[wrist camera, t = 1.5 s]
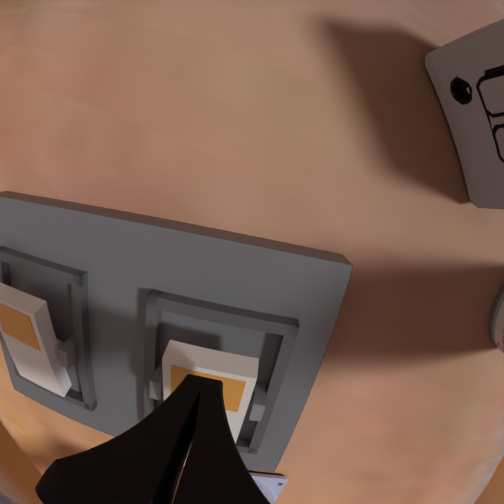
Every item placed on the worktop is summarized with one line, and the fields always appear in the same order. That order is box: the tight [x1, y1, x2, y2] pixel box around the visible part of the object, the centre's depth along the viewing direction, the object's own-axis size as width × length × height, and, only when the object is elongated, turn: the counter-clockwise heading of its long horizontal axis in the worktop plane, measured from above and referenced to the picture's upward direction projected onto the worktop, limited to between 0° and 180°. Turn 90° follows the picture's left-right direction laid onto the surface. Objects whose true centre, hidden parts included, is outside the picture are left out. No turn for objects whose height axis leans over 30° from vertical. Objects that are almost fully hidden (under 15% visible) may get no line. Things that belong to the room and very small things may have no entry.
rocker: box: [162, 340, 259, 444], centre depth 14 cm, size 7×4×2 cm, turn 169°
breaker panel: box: [0, 191, 353, 472], centre depth 16 cm, size 16×22×4 cm
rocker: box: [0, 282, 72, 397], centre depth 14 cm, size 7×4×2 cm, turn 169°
